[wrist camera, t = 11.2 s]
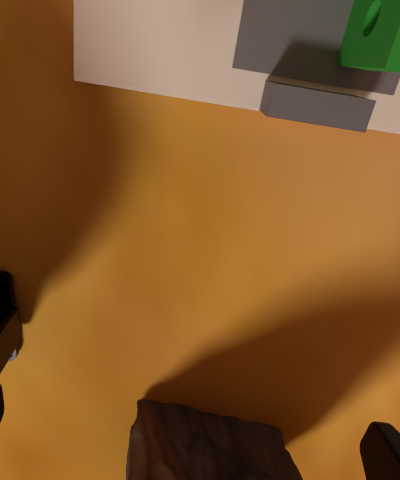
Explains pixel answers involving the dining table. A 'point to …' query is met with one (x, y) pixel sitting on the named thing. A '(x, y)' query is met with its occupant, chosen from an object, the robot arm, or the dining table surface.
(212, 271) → the dining table surface
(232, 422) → the grey brown rock block
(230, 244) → the dining table surface
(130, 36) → the door panel
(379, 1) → the green angled block
